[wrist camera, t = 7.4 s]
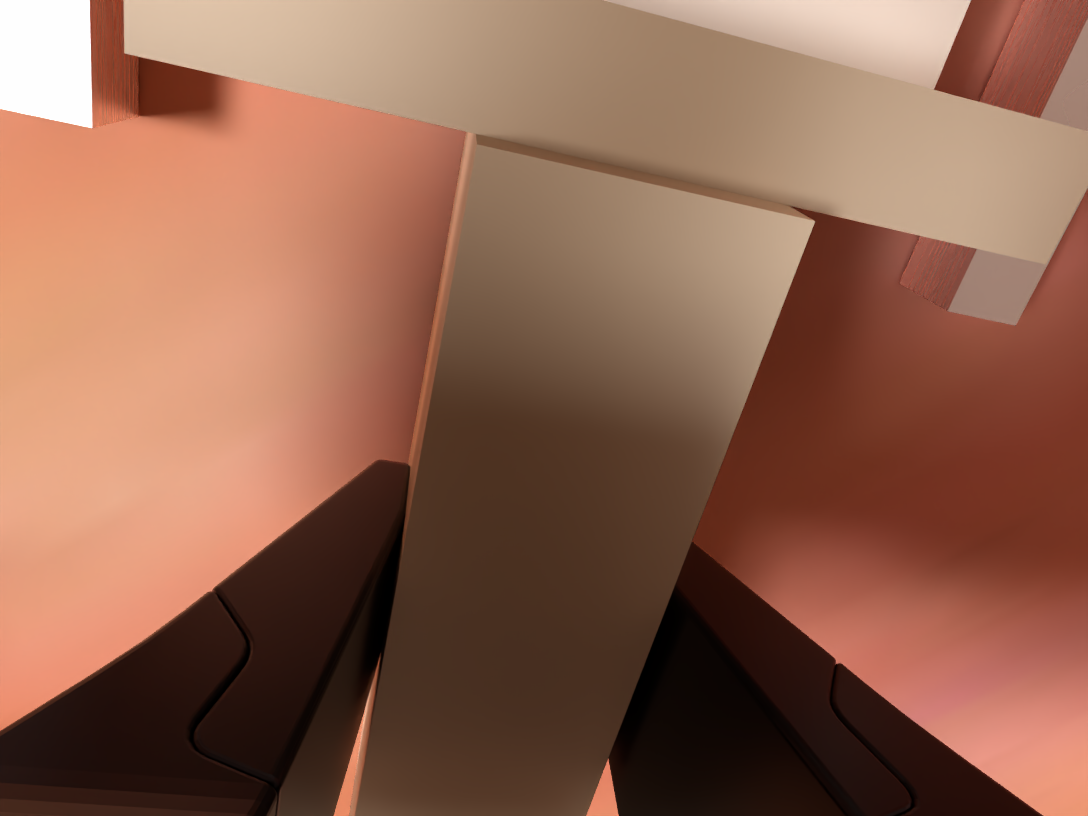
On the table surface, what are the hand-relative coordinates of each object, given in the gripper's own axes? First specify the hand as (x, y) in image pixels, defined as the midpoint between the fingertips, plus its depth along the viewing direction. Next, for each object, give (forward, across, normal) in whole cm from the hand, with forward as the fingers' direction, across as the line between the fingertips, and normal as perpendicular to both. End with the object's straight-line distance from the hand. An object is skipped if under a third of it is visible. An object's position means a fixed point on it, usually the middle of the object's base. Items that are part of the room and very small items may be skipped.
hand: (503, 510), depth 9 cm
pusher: (+1, 0, 0) cm, 1 cm away
